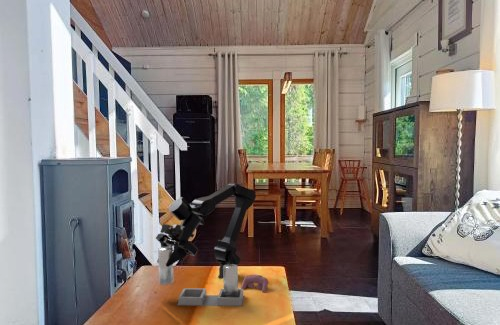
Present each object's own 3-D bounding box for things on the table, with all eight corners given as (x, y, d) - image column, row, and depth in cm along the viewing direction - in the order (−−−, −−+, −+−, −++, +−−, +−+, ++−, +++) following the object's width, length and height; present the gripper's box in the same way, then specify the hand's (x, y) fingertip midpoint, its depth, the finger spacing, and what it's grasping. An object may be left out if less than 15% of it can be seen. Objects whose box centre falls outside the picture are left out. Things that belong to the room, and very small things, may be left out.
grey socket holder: (244, 298, 128) (244, 288, 128) (242, 309, 120) (242, 298, 120) (183, 297, 130) (183, 288, 130) (177, 308, 121) (177, 297, 121)
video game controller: (268, 295, 134) (270, 276, 137) (264, 294, 130) (267, 274, 133) (243, 292, 138) (245, 273, 140) (239, 291, 134) (242, 272, 136)
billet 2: (232, 296, 128) (232, 263, 127) (240, 301, 124) (240, 266, 124) (220, 300, 125) (220, 266, 124) (228, 304, 121) (228, 269, 120)
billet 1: (169, 278, 130) (168, 245, 130) (175, 282, 126) (175, 248, 126) (156, 281, 127) (155, 248, 127) (162, 285, 123) (161, 251, 123)
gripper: (159, 212, 135) (133, 247, 128) (190, 218, 122) (163, 257, 115) (177, 229, 141) (153, 263, 134) (208, 236, 129) (183, 275, 121)
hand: (162, 264), depth 126 cm, fingers closed on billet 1, 5 cm apart
